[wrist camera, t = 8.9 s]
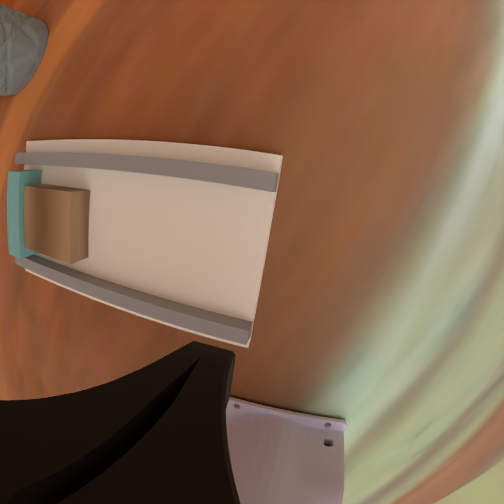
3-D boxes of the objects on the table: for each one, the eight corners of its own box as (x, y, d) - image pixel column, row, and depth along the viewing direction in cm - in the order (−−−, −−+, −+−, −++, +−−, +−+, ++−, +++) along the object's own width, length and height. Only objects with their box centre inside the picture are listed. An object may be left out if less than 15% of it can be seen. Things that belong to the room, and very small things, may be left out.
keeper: (90, 189, 19) (71, 192, 17) (88, 257, 20) (70, 264, 18) (42, 183, 20) (24, 185, 18) (41, 242, 21) (24, 247, 19)
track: (283, 156, 16) (276, 151, 13) (249, 344, 19) (238, 369, 16) (30, 141, 20) (5, 141, 17) (28, 268, 23) (6, 278, 20)
